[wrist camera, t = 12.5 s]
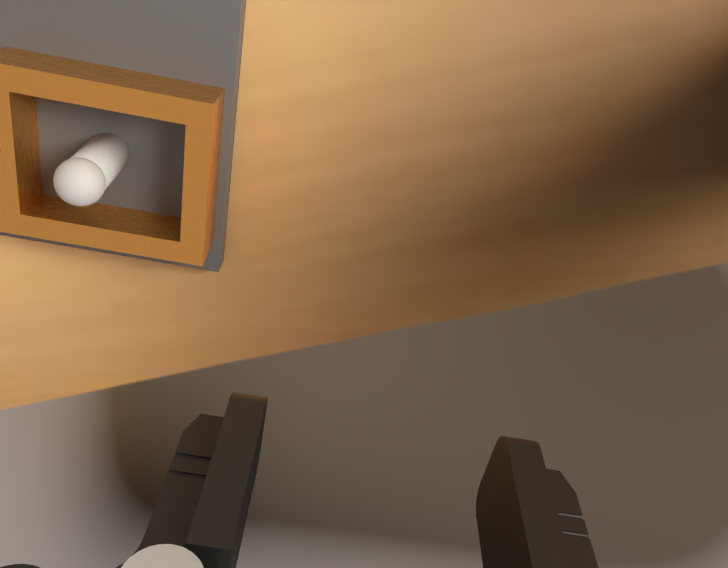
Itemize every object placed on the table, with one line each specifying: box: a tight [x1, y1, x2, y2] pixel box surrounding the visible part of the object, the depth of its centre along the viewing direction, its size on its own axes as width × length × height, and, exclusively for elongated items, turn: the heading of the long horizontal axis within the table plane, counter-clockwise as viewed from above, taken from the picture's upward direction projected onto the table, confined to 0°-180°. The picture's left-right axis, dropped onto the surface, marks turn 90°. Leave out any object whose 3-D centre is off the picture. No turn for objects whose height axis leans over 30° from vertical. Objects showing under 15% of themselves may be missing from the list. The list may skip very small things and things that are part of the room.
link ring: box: [0, 46, 225, 266], centre depth 38 cm, size 12×10×3 cm
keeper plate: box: [0, 0, 246, 272], centre depth 37 cm, size 14×18×7 cm
